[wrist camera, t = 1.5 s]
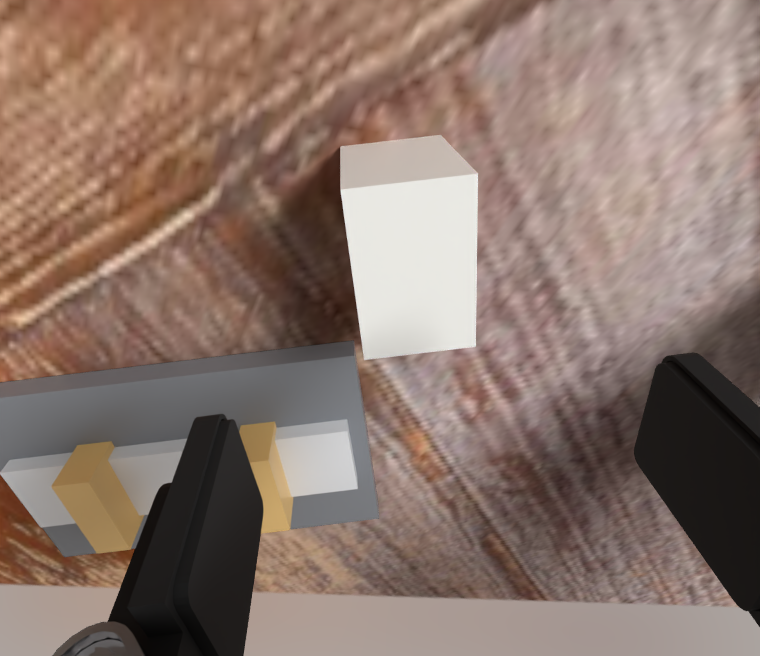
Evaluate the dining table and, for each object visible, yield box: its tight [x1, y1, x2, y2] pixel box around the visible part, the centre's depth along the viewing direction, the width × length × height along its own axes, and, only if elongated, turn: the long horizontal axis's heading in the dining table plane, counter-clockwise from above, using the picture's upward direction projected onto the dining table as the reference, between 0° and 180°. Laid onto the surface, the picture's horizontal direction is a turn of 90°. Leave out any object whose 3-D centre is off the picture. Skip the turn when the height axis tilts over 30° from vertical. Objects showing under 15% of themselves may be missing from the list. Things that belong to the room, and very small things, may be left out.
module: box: [340, 135, 478, 360], centre depth 21 cm, size 5×7×7 cm, turn 5°
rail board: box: [0, 340, 379, 557], centre depth 29 cm, size 22×14×4 cm, turn 95°
